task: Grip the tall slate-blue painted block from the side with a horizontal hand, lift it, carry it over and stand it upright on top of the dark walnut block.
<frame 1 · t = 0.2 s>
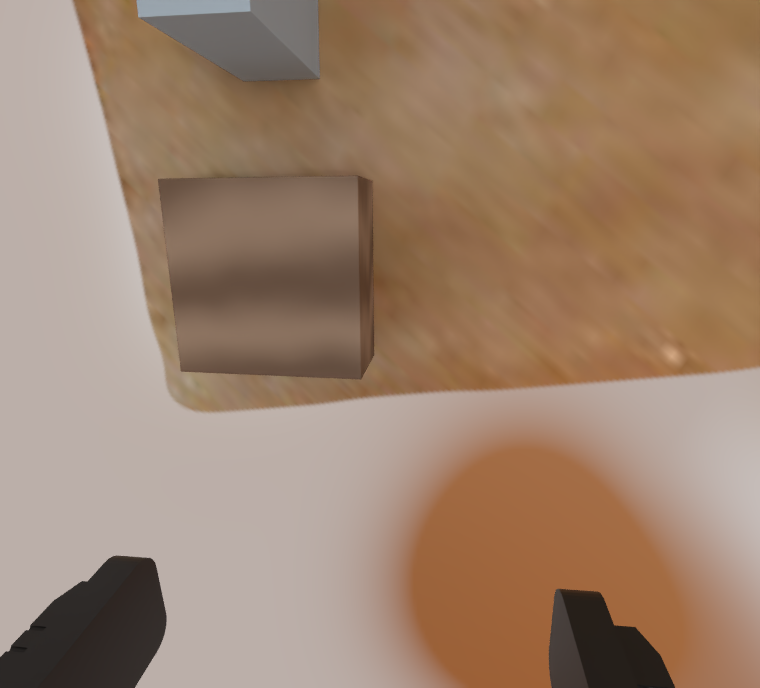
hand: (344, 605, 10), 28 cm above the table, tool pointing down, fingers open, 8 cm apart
walnut block: (291, 270, 38), on the table
slate block: (279, 35, 33), on the table
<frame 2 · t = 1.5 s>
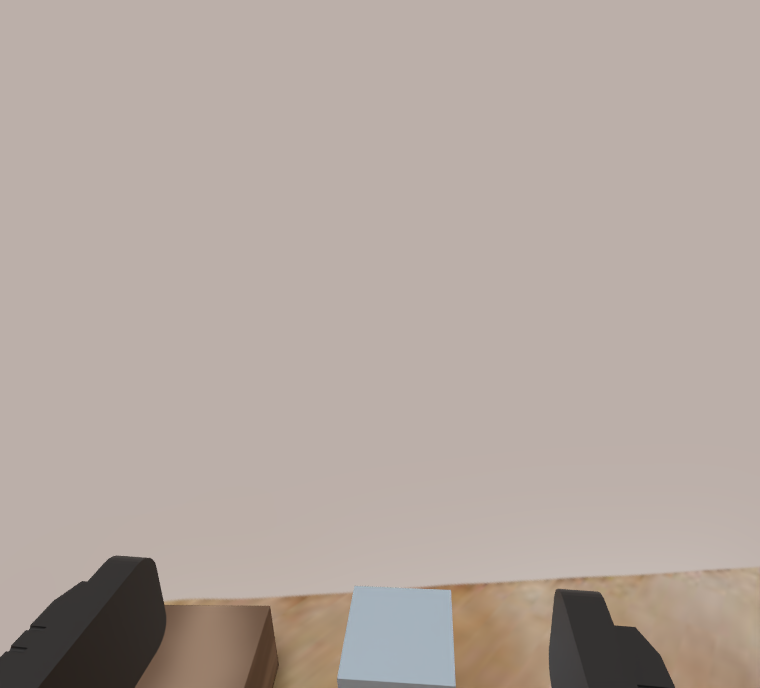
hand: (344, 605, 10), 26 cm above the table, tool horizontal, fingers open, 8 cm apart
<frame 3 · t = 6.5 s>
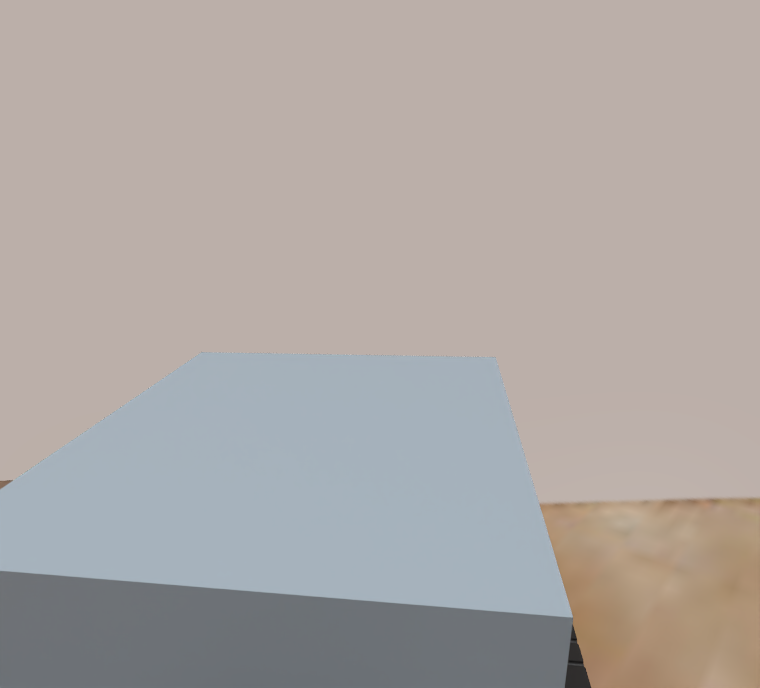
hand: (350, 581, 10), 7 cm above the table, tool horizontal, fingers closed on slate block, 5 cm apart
when the fingers open (14 cm above the table, at t = 13.1 s): slate block drops 2 cm, resting on walnut block.
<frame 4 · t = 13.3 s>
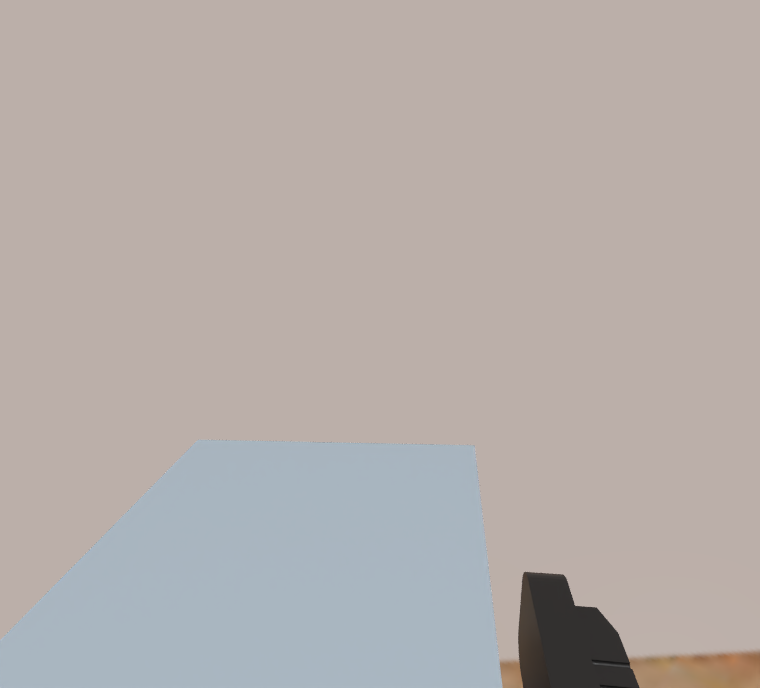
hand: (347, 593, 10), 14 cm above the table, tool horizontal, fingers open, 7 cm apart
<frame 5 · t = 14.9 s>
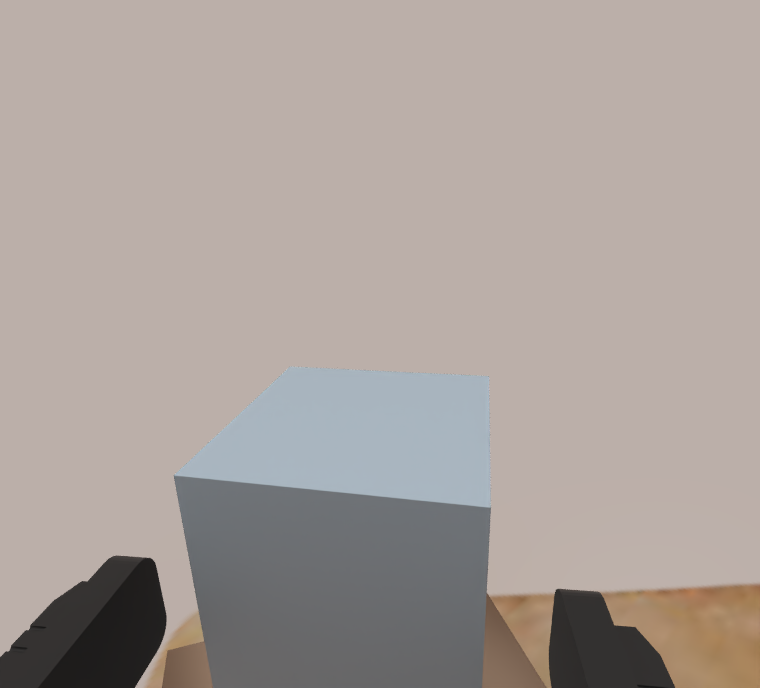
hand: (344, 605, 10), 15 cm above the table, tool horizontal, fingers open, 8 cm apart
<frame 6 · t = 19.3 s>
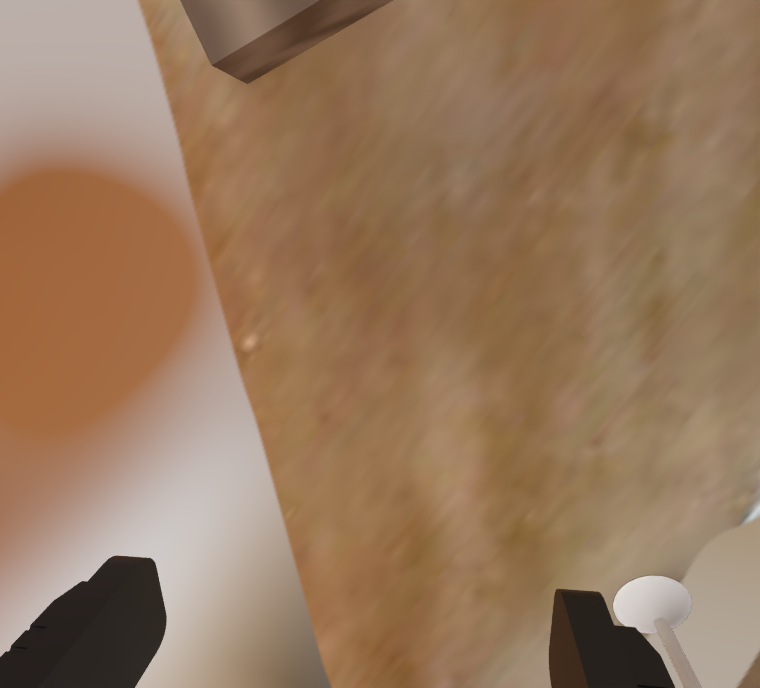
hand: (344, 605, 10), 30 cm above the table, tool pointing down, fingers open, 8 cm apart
champagne flute: (651, 603, 44), on the table
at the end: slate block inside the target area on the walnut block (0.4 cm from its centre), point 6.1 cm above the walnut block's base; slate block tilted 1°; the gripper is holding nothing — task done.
